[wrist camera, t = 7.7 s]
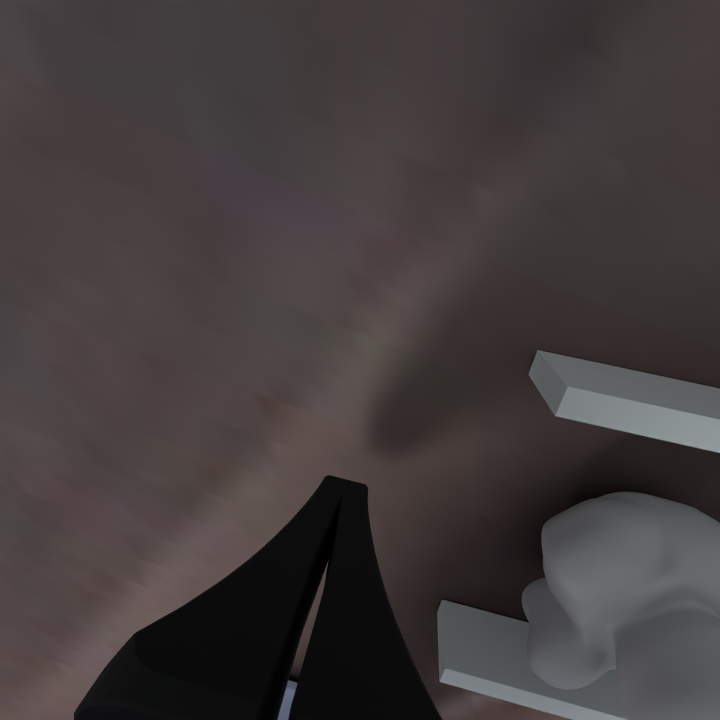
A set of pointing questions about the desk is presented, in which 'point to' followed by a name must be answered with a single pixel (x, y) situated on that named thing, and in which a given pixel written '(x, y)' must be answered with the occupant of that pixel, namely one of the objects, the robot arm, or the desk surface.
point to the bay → (510, 636)
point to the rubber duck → (631, 604)
